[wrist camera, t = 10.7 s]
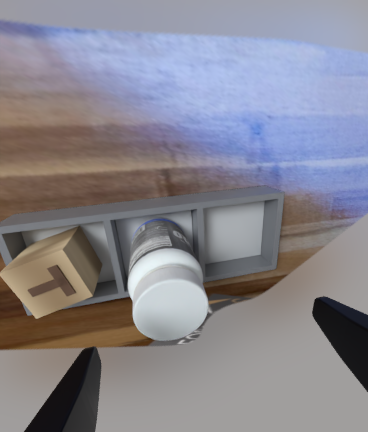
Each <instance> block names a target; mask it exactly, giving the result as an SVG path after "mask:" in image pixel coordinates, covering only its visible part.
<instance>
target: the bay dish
mask: <svg viewBox="0 0 368 432" xmlns="http://www.w3.org/2000/svg"><path fill="white" fill-rule="evenodd" d="M284 193H285V192H283V191H280V190H277V189H274V188H271V187H268V186H266V185H265V186H257V187H248V188H239V189H230V190H222V191H213V192H204V193H195V194H187V195H178V196H169V197H160V198H152V199H143V200H134V201H126V202H117V203H108V204H99V205H91V206H82V207H73V208H64V209H56V210H47V211H38V212H30V213H21V214H14V215H12V216H10V217H8V218H7V219H5V220H3V221H1V222H0V252H1V255H2V257H3V259H4V262H5V264H6V266H7V265H8V264H9V263H11V262H12V261H13V260H14V259H15V258H16V257H17V256H18V255H19V254H20V253H21V252H22V251H23V250H24V249H26V248H27V247H28V246H29V245H30V244H31V243H34V242H37V241H39V240H42V239H45V238H47V237H50V236H53V235H56V234H58V233H61V232H64V231H66V230H69V229H72V228H74V227H77V226H80V227H81V228H82V230H83V232H84V234H85V235H86V237H87V239H88V240H89V242H90V244H91V246H92V247H93V249H94V251H95V252H96V254H97V256H98V258H99V259H100V261H101V263H102V268H101V271H100V275H99V278H98V281H97V285H96V288H95V291H94V294H93V296H92V297H90V298H87V299H85V300H82V301H80V302H77V303H75V304H72V305H70V306H67V307H65V308H71V307H76V306H81V305H87V304H92V303H97V302H103V301H108V300H113V299H119V298H124V297H129V296H130V295H129V291H128V275H129V265H130V252H131V242H132V237H133V234H134V232H135V230H136V229H137V228H138V226H139V225H141V224H142V223H143V222H145V221H147V220H149V219H152V218H159V217H162V218H167V219H170V220H173V221H174V222H176V223H177V224H178V225H179V226H180V227H181V229H182V230H183V232H184V234H185V236H186V238H187V240H188V242H189V244H190V246H191V248H192V250H193V252H194V254H195V256H196V258H197V260H198V262H199V264H200V267H201V269H202V274H203V283H204V282H209V281H214V280H220V279H225V278H230V277H235V276H241V275H246V274H251V273H257V272H262V271H267V270H273V269H276V266H277V257H278V248H279V239H280V230H281V220H282V211H283V202H284ZM22 303H23V302H22ZM23 306H24V308H25V310H26V313H27V315H33V314H32V313H31V312H30V311H29V309H28V308H27V307H26V306H25V305H24V303H23ZM65 308H62V309H65Z"/></svg>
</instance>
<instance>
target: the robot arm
mask: <svg viewBox="0 0 368 432" xmlns="http://www.w3.org/2000/svg"><path fill="white" fill-rule="evenodd" d="M312 314H313V317H314V319H315V321H316V322H317V324H318V325H319V326H320V328H321V330H322V331H323V332H324V334H325V336H326V337H327V339H328V340H329V342H330V343H331V345H332V346H333V348H334V349H335V350H336V352H337V353H338V355H339V356H340V357H341V358H342V360H343V361H344V363H345V364H346V365H347V366H348V368H349V369H350V370H351V371H352V373H353V374H354V375H355V377H356V378H357V379H358V380H359V382H360V383H361V384H362V385H363V387H364V388H365V389H366V390H367V392H368V315H367V314H364V313H362V312H360V311H357V310H355V309H353V308H350V307H348V306H346V305H344V304H341V303H339V302H337V301H335V300H333V299H330V298H328V297H319V298H316V299H315V302H314V306H313V311H312ZM100 377H101V360H100V357H99V354H98V351H97V348H96V347H89V348H85V349H84V350H82V352H81V353H80V354H79V356H78V357H77V359H76V360H75V361H74V363H73V364H72V366H71V367H70V368H69V370H68V371H67V373H66V374H65V375H64V377H63V378H62V380H61V381H60V382H59V384H58V385H57V387H56V388H55V389H54V391H53V392H52V393H51V395H50V396H49V398H48V399H47V401H46V402H45V403H44V405H43V406H42V407H41V409H40V410H39V412H38V413H37V415H36V416H35V417H34V419H33V420H32V421H31V423H30V424H29V426H28V427H27V428H26V430H25V431H24V432H95V428H96V421H97V412H98V401H99V389H100Z"/></svg>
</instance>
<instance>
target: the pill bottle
mask: <svg viewBox="0 0 368 432" xmlns="http://www.w3.org/2000/svg"><path fill="white" fill-rule="evenodd" d="M128 291H129V295H130V297H131V299H132V301H133V320H134V323H135V325H136V327H137V328H138V330H139V331H140V332H141V333H142V334H144V335H145V336H147V337H149V338H151V339H155V340H160V341H168V340H176V339H180V338H183V337H185V336H187V335H189V334H191V333H192V332H194V331H195V330H196V329H197V328H198V327H199V326H200V325H201V324H202V323H203V321H204V320H205V318H206V316H207V312H208V298H207V295H206V292H205V289H204V286H203V274H202V269H201V267H200V264H199V262H198V260H197V258H196V256H195V254H194V252H193V250H192V248H191V246H190V244H189V242H188V240H187V238H186V236H185V234H184V232H183V230H182V229H181V227H180V226H179V225H178V224H177V223H176V222H174V221H173V220H170V219H167V218H162V217H159V218H152V219H149V220H147V221H145V222H143V223H142V224H141V225H139V226H138V228H137V229H136V230H135V232H134V234H133V237H132V242H131V252H130V265H129V275H128Z"/></svg>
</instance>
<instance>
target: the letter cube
mask: <svg viewBox="0 0 368 432" xmlns="http://www.w3.org/2000/svg"><path fill="white" fill-rule="evenodd" d="M101 268H102V263H101V261H100V259H99V258H98V256H97V254H96V252H95V251H94V249H93V247H92V246H91V244H90V242H89V240H88V239H87V237H86V235H85V234H84V232H83V230H82V228H81V227H80V226H77V227H74V228H72V229H69V230H66V231H64V232H61V233H58V234H56V235H53V236H50V237H47V238H45V239H42V240H39V241H37V242H34V243H31V244H30V245H29V246H28V247H27V248H26V249H24V250H23V251H22V252H21V253H20V254H19V255H18V256H17V257H16V258H15V259H14V260H13V261H12V262H11V263H9V264H8V265H7V266H6V267H5V268H4V269H3V270H2V271H1V272H0V276H1V277H2V278H3V280H4V281H5V282H6V283H7V284H8V286H9V287H10V288H11V289H12V290H13V292H14V293H15V294H16V295H17V296H18V297H19V299H20V300H21V301H22V302H23V303H24V305H25V306H26V307H27V308H28V309H29V311H30V312H31V313H32V314H33V315H34V316H35V318H36V319H37V318H40V317H42V316H45V315H47V314H50V313H52V312H55V311H57V310H60V309H62V308H65V307H67V306H70V305H72V304H75V303H77V302H80V301H82V300H85V299H87V298H90V297H92V296H93V294H94V291H95V288H96V285H97V281H98V278H99V275H100V271H101Z"/></svg>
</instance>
